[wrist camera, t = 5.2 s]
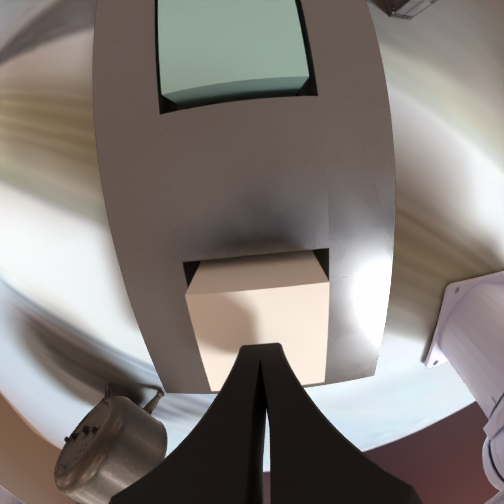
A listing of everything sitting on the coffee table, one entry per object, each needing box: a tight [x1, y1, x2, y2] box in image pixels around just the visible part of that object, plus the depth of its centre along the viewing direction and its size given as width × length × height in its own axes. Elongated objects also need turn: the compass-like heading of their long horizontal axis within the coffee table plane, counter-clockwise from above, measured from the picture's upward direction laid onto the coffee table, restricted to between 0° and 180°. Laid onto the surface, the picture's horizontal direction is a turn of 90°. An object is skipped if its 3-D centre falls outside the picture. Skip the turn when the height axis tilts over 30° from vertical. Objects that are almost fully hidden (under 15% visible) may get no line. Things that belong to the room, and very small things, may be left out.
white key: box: [185, 250, 329, 391], centre depth 12 cm, size 5×5×4 cm
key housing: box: [93, 0, 395, 394], centre depth 12 cm, size 12×22×4 cm, turn 6°
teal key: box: [158, 0, 309, 109], centre depth 9 cm, size 5×5×4 cm
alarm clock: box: [54, 384, 167, 504], centre depth 12 cm, size 11×5×16 cm, turn 131°
